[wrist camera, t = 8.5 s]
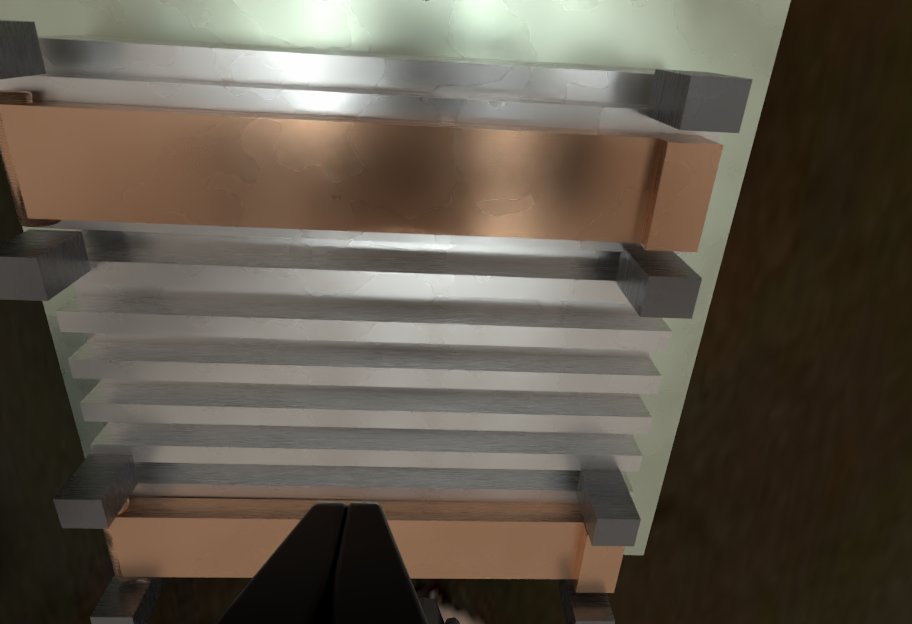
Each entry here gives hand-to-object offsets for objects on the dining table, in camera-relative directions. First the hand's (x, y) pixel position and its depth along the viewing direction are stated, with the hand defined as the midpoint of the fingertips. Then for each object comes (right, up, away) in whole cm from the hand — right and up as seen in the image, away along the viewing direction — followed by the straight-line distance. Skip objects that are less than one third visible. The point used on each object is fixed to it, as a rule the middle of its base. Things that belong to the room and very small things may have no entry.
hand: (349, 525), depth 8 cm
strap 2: (-1, -4, +11) cm, 12 cm away
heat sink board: (-1, +3, +12) cm, 13 cm away
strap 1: (-1, +6, +6) cm, 8 cm away
